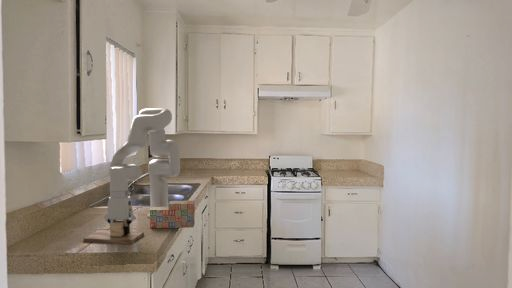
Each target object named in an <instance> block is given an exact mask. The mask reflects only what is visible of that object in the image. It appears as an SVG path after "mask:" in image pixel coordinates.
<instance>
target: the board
mask: <svg viewBox="0 0 512 288" xmlns="http://www.w3.org/2000/svg"><path fill="white" fill-rule="evenodd" d="M144 233H145V232H144V231H131V230H130V232H129V233H128V234H127V235H124V236H123V237H110V229H109V230H107V229H106V230H105V229H99V230H97V231H94V232H93V233H91V234H90V235H89V234H88V235H87V236H86V237H84V238H82V239H83V240H82V241H83V242H84V243H101V244H116V245H132V244H134V243H135V242H137V241H138V240H139V239H141V238H142V237H143V236H144V235H145V234H144Z"/></svg>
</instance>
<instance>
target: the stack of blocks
mask: <svg viewBox="0 0 512 288" xmlns="http://www.w3.org/2000/svg"><path fill="white" fill-rule="evenodd" d="M168 205H169V207H152V208H151V209H150V208H149V209H150V210H149V213H150V218H149V225H150V226H149V228H150V229H171V228H172V229H173V228H175V229H178V228H181V229H182V228H183V229H185V228H194V226H195V222H196V221H195V217H196V216H195V213H196V212H195V210H196V209H195V208H196V207H195V200H170V201H168Z"/></svg>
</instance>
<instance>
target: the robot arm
mask: <svg viewBox="0 0 512 288" xmlns="http://www.w3.org/2000/svg"><path fill="white" fill-rule="evenodd" d="M172 119H173V116H172V112H171V110H170V109H168V108H143V109H141V110H139V113H138V115H136V116H134V117H133V119H132V123H131V124H130V130H129V132H128V136H127V140H126V142H125V143H124V144H122V146H121V147H119V149H117V151H116V152H115V154H114V155H113V156H112V159H111V163H110V166H109V193H110V194H109V197H108V201H107V213H106V214H105V215H104V216H103V219H104V220H105V221H107V223H108V224H109V225H110V223H112V222H114V221H116V220H123V221H124V225H125V226H124V235H127V234H128V233H129V225H130V226H131V224H132V222H134V221H135V220H136V219H137V217H136V216H135V215H134V212H133V210H134V209H133V203H132V202H133V201H132V198H131V194H132V192H131V191H129V181H132V182H133V181H137V180H138V179H140V178H141V176H142V174H143V169H142V168H141V166H140V165H139V164H135V163H134V164H133V163H129V164H128V163H123V162H124V160H125V159H127V157H128V156H130V155H132V154H134V153H136V152H138V151H140V150H143V149H144V148H145V146H146V142H147V138H148V139H149V151H150V152H149V153H150V155H151V156H152V157H155V159H151V160H150V161H149V162H148V164H147V171H148V172H147V173H148V176H149V196H150V197H149V198H150V200H149V202H150V203H149V204H150V208H149V209H151V208H152V207H169V185H168V184H169V183H168V181H167V180H166V177H168V178H170V177H171V178H175V177H178V176H179V174H180V172H181V154H180V145H179V143H178V141H176V140H174V139H167V138H166V131H165V128H166V127H167V126H169V125H170V124H171V122H172ZM156 157H157V158H156ZM165 158H168V159H165ZM147 217H148V218H149V219H150V212H149V213H147ZM129 219H130V220H129Z"/></svg>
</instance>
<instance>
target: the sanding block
mask: <svg viewBox="0 0 512 288" xmlns="http://www.w3.org/2000/svg"><path fill="white" fill-rule="evenodd" d="M130 219H131V218H129V220H130ZM124 226H125V225H124V221H123V220H116V221H114V222H112V223H110V224H109V230H110V237H123V236H124ZM130 231H131V224H130V225H129V232H130Z"/></svg>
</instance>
